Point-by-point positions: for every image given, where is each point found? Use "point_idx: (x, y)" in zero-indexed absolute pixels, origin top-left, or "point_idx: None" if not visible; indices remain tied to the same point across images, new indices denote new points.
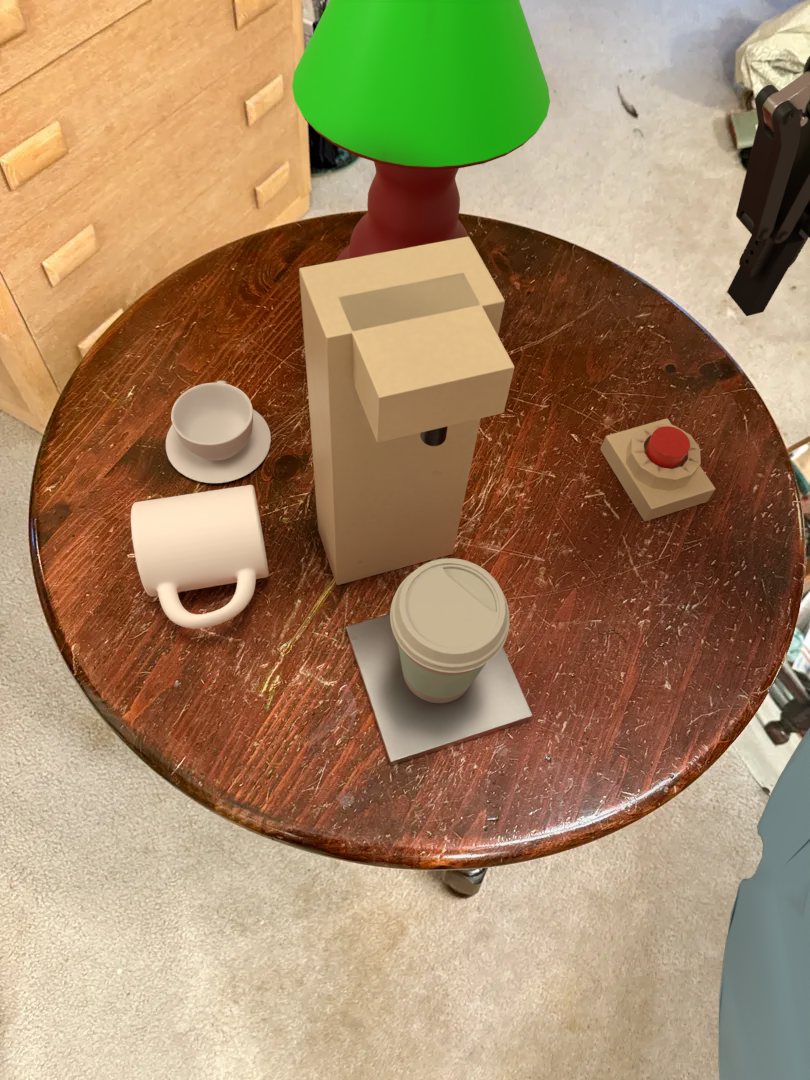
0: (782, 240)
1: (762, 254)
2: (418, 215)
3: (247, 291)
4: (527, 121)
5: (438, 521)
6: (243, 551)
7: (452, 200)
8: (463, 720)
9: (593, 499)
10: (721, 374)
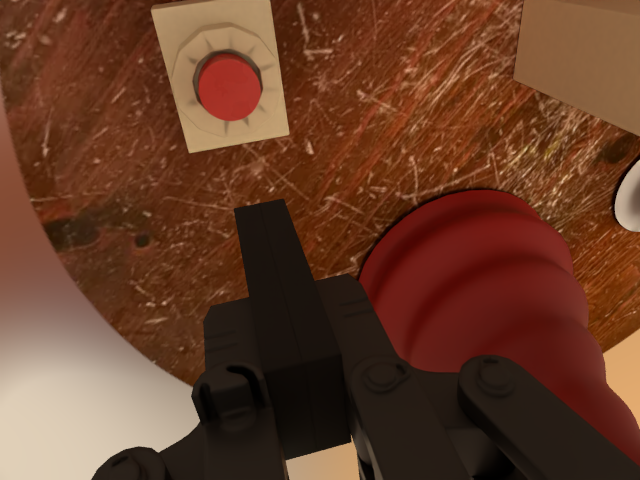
0: (378, 362)
1: (370, 326)
2: (613, 418)
3: None
4: None
5: (615, 2)
6: None
7: None
8: None
9: (321, 44)
10: (64, 227)
